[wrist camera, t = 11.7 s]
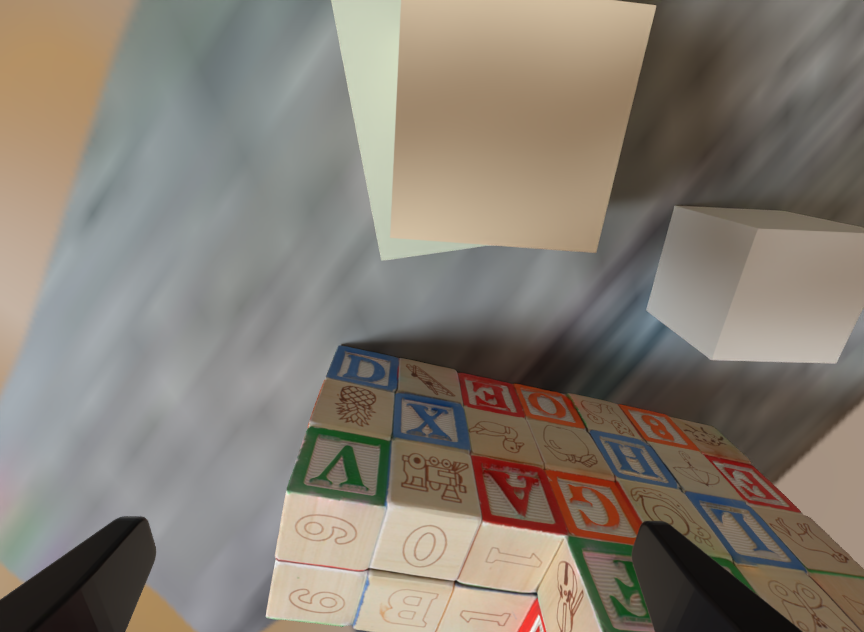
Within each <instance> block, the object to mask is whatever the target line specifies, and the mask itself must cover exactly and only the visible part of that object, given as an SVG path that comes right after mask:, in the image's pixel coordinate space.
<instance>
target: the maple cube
mask: <svg viewBox="0 0 864 632" xmlns="http://www.w3.org/2000/svg"><path fill="white" fill-rule="evenodd" d="M655 9H656V5H649V4H641V3H633V2H625V1H616V0H401V13H400V35H399V56H398V78H397V100H396V121H395V143H394V164H393V186H392V207H391V229H390V238H398V239H412V240H426V241H439V242H453V243H467V244H481V245H495V246H508V247H522V248H536V249H550V250H563V251H577V252H591V253H596V251H597V247H598V243H599V239H600V235H601V231H602V226H603V222H604V218H605V214H606V210H607V206H608V202H609V198H610V194H611V190H612V185H613V181H614V177H615V173H616V169H617V165H618V161H619V157H620V153H621V149H622V145H623V140H624V136H625V132H626V128H627V124H628V120H629V116H630V112H631V108H632V104H633V99H634V95H635V91H636V87H637V83H638V79H639V75H640V71H641V67H642V63H643V58H644V54H645V50H646V46H647V42H648V38H649V34H650V30H651V26H652V22H653V18H654V13H655Z"/></svg>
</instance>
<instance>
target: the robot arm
mask: <svg viewBox="0 0 864 632" xmlns="http://www.w3.org/2000/svg"><path fill="white" fill-rule="evenodd" d="M155 557H156V546H155V543H154V539H153V536H152V533H151V529H150V526H149V522H148V520H147V519H146V518H145V517H139V516H124V517H119V518H117V519H115V520H114V521H112V522H111V523H109V524H108V525H106V526H105V527H104V528H102V529H101V530H99V531H98V532H96V533H95V534H94V535H92V536H91V537H89V538H88V539H86V540H85V541H84V542H82V543H81V544H79V545H78V546H76V547H75V548H73V549H72V550H71V551H69V552H68V553H66V554H65V555H63V556H62V557H61V558H59V559H58V560H56V561H55V562H53V563H52V564H51V565H49V566H48V567H46V568H45V569H43V570H42V571H41V572H39V573H38V574H36V575H35V576H33V577H32V578H31V579H29V580H28V581H26V582H25V583H23V584H22V585H20V586H19V587H18V588H16V589H15V590H13V591H12V592H10V593H9V594H8V595H6V596H5V597H3V598H2V599H1V600H0V632H125V631H126V629H127V626H128V624H129V621H130V619H131V616H132V614H133V612H134V609H135V607H136V605H137V602H138V600H139V597H140V595H141V593H142V590H143V588H144V585H145V583H146V581H147V578H148V576H149V574H150V571H151V569H152V566H153V564H154V561H155ZM632 563H633V566H634V569H635V573H636V576H637V579H638V582H639V585H640V588H641V591H642V594H643V597H644V600H645V603H646V606H647V609H648V613H649V616H650V619H651V622H652V625H653V628H654V631H655V632H803V631H802V630H800V629H799V628H798V627H797V626H795V625H794V624H793V623H792V622H791V621H789V620H788V619H787V618H786V617H784V616H783V615H782V614H781V613H779V612H778V611H777V610H776V609H774V608H773V607H772V606H771V605H769V604H768V603H767V602H766V601H764V600H763V599H762V598H761V597H760V596H758V595H757V594H756V593H755V592H753V591H752V590H751V589H750V588H748V587H747V586H746V585H745V584H743V583H742V582H741V581H740V580H738V579H737V578H736V577H735V576H733V575H732V574H731V573H730V572H729V571H727V570H726V569H725V568H724V567H722V566H721V565H720V564H719V563H717V562H716V561H715V560H714V559H712V558H711V557H710V556H709V555H707V554H706V553H705V552H704V551H702V550H701V549H700V548H699V547H698V546H696V545H695V544H694V543H693V542H691V541H690V540H689V539H688V538H686V537H685V536H684V535H683V534H681V533H680V532H679V531H678V530H676V529H675V528H674V527H673V526H672V525H670V524H669V523H667V522H664V521H644V522H643V523H642V524H641V525H640V528H639V531H638V534H637V537H636V540H635V542H634V545H633V548H632Z"/></svg>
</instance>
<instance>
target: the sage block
mask: <svg viewBox="0 0 864 632" xmlns="http://www.w3.org/2000/svg"><path fill="white" fill-rule="evenodd" d="M331 2H332V7H333V12H334V18H335V23H336V28H337V33H338V38H339V44H340V49H341V54H342V59H343V64H344V69H345V75H346V80H347V85H348V90H349V95H350V101H351V106H352V111H353V116H354V121H355V127H356V132H357V137H358V142H359V147H360V152H361V158H362V163H363V168H364V173H365V178H366V184H367V189H368V194H369V199H370V204H371V210H372V215H373V220H374V225H375V230H376V235H377V241H378V246H379V251H380V256H381V261H384V260H391V259H398V258H405V257H412V256H419V255H425V254H432V253H439V252H446V251H453V250H460V249H467V248H474V247H481V246H488V245H481V244H467V243H453V242H439V241H426V240H412V239H398V238H390V229H391V207H392V186H393V164H394V143H395V121H396V100H397V78H398V56H399V35H400V13H401V0H331Z"/></svg>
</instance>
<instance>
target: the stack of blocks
mask: <svg viewBox="0 0 864 632" xmlns="http://www.w3.org/2000/svg"><path fill="white" fill-rule="evenodd" d="M644 521H664V522H667V523H669V524H670V525H672V526H673V527H674V528H675V529H676V530H678V531H679V532H680V533H681V534H683V535H684V536H685V537H686V538H688V539H689V540H690V541H691V542H693V543H694V544H695V545H696V546H698V547H699V548H700V549H701V550H702V551H704V552H705V553H706V554H707V555H709V556H710V557H711V558H712V559H714V560H715V561H716V562H717V563H719V564H720V565H721V566H722V567H724V568H725V569H726V570H727V571H729V572H730V573H731V574H732V575H733V576H735V577H736V578H737V579H738V580H740V581H741V582H742V583H743V584H745V585H746V586H747V587H748V588H750V589H751V590H752V591H753V592H755V593H756V594H757V595H758V596H760V597H761V598H762V599H763V600H764V601H766V602H767V603H768V604H769V605H771V606H772V607H773V608H774V609H776V610H777V611H778V612H779V613H781V614H782V615H783V616H784V617H786V618H787V619H788V620H789V621H791V622H792V623H793V624H794V625H795V626H797V627H798V628H799V629H800V630H802V631H803V632H864V569H863V568H862V567H861V566H860V565H859V564H858V563H857V562H855V561H854V560H853V558H852V557H851V556H850V555H849V554H848V553H847V552H846V551H845V550H843V549H842V548H841V547H840V546H839V545H838V544H837V543H836V542H835V541H834V540H833V539H832V538H831V537H830V536H829V535H828V534H827V533H826V532H825V531H824V530H823V529H821V528H820V527H819V526H818V525H817V524H816V523H815V522H814V521H813V520H812V519H811V518H809V517H808V516H804V515H803V514H802V513H801V511H800V510H799V509H798V508H797V507H796V506H795V505H794V504H793V503H792V502H791V501H790V500H789V499H788V498H787V497H786V496H785V495H784V494H783V493H782V492H781V491H779V490H778V489H777V488H776V487H775V486H774V485H773V484H772V483H771V482H770V481H769V480H768V479H766V478H765V477H764V476H763V475H762V474H761V473H760V472H759V471H758V470H757V469H756V468H755V467H754V466H752V465H751V462H750V460H749V459H748V458H747V457H746V456H745V455H744V454H742V452H741V451H739V450H738V449H737V448H736V447H735V446H734V445H733V444H732V443H731V442H730V441H729V440H727V439H726V438H725V437H724V436H723V435H722V434H721V433H720V432H719V431H718V430H717V429H716V428H714V427H713V426H709V425H704V424H700V423H695V422H691V421H687V420H682V419H678V418H673V417H669V416H667V415H665V414H662V413H657V412H653V411H648V410H644V409H639V408H634V407H630V406H626V405H621V404H616V403H612V402H608V401H604V400H600V399H595V398H590V397H586V396H581V395H576V394H572V393H567V394H561V393H558V392H552V391H548V390H543V389H539V388H535V387H530V386H525V385H521V384H516V383H515V384H510V383H507V382H502V381H498V380H494V379H489V378H484V377H478V376H475V375H470V374H465V373H457V371H456V370H454V369H450V368H446V367H441V366H436V365H431V364H427V363H422V362H418V361H414V360H409V359H404V358H396V357H393V356H389V355H385V354H379V353H376V352H370V351H365V350H361V349H356V348H351V347H347V346H338V347H337V350H336V352H335V355H334V357H333V360H332V362H331V365H330V368H329V370H328V373H327V375H326V379H325V380H324V382H323V385H322V387H321V390H320V392H319V395H318V398H317V401H316V403H315V406H314V409H313V412H312V415H311V418H310V421H309V424H308V429H307V431H306V434H305V437H304V440H303V442H302V445H301V448H300V451H299V454H298V457H297V460H296V463H295V466H294V469H293V472H292V474H291V477H290V480H289V483H288V486H287V490H286V495H285V501H284V506H283V512H282V518H281V524H280V530H279V536H278V540H277V547H276V552H275V557H276V561H275V566H274V571H273V576H272V582H271V588H270V594H269V599H268V606H267V611H266V617H267V618H271V619H281V620H291V621H299V622H310V623H318V624H326V625H334V626H342V627H343V626H347V625H352V627H353V628H354V629H357V630H364V631H372V632H655V631H654V628H653V625H652V622H651V619H650V616H649V613H648V609H647V606H646V603H645V600H644V597H643V594H642V591H641V588H640V585H639V582H638V579H637V576H636V573H635V569H634V566H633V563H632V548H633V545H634V542H635V540H636V537H637V534H638V531H639V528H640V525H641V524H642V523H643V522H644Z"/></svg>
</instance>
